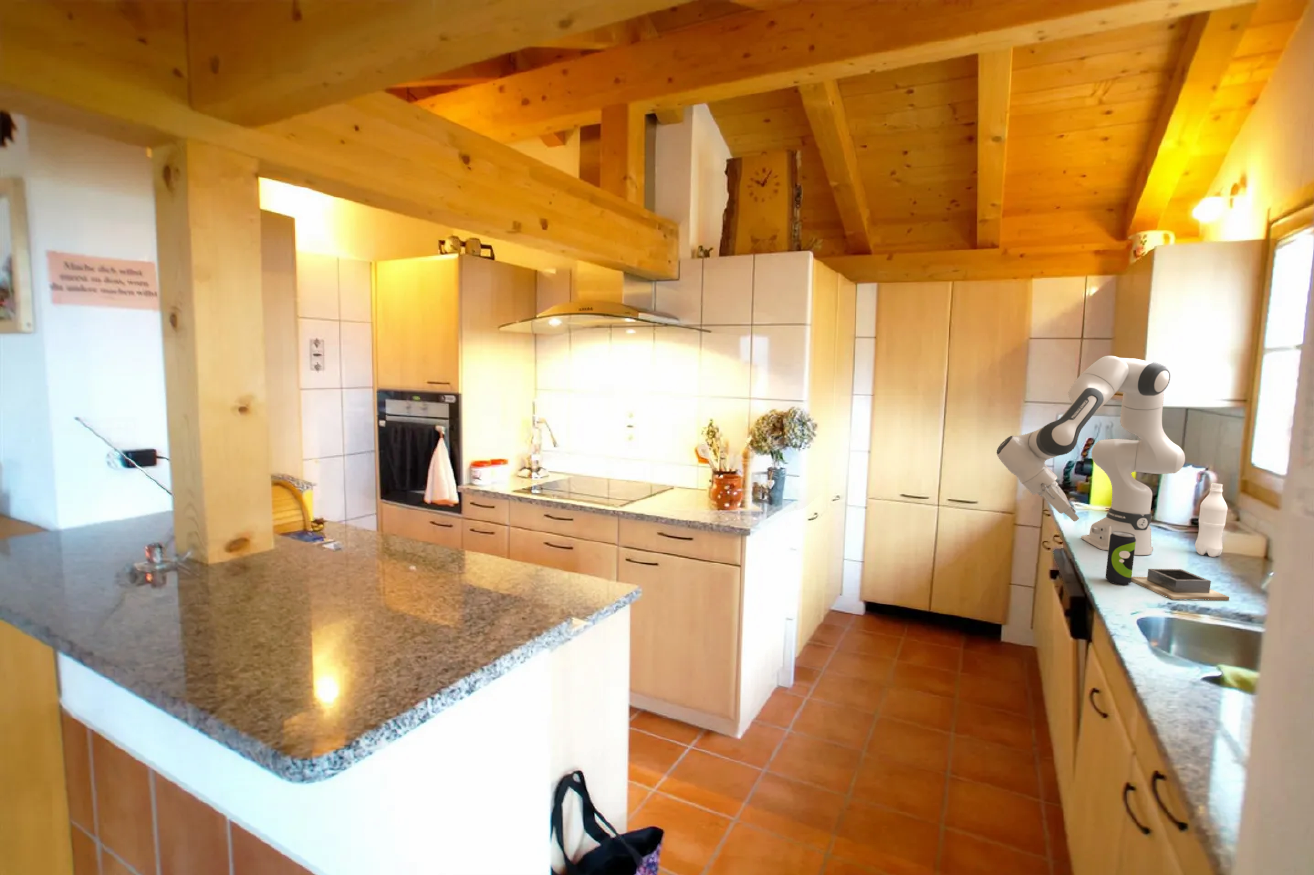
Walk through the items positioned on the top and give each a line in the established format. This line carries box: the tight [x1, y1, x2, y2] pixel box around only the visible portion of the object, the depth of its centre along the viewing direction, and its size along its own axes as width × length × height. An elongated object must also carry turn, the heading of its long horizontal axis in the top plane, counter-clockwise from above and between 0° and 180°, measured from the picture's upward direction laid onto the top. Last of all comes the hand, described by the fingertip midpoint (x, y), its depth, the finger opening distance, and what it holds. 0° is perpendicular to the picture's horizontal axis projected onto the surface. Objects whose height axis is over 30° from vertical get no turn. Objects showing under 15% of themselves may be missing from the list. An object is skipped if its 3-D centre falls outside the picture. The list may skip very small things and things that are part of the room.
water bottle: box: [1194, 482, 1229, 558], centre depth 217 cm, size 7×7×25 cm
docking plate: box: [1131, 576, 1230, 601], centre depth 184 cm, size 16×16×1 cm
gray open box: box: [1146, 568, 1212, 593], centre depth 183 cm, size 10×10×4 cm
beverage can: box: [1105, 531, 1136, 586], centre depth 189 cm, size 6×6×15 cm
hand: (1075, 516), depth 193 cm, fingers open, 8 cm apart
